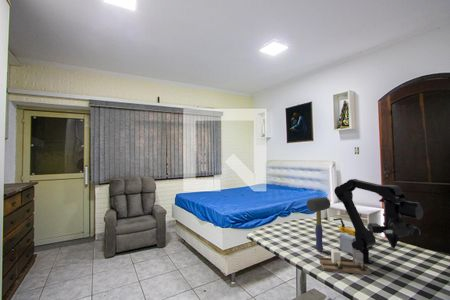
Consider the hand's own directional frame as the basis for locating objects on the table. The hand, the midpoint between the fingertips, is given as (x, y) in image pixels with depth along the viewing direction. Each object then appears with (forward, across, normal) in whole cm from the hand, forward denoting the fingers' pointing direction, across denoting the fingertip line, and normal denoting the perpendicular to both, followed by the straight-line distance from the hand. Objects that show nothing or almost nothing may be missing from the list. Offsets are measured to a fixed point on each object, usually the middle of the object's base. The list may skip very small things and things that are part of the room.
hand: (393, 247), depth 98 cm
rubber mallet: (+12, -27, +20) cm, 36 cm away
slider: (+11, -23, +3) cm, 26 cm away
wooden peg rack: (+12, -20, +3) cm, 24 cm away
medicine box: (+12, -11, +22) cm, 28 cm away
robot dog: (+12, -7, +36) cm, 39 cm away
